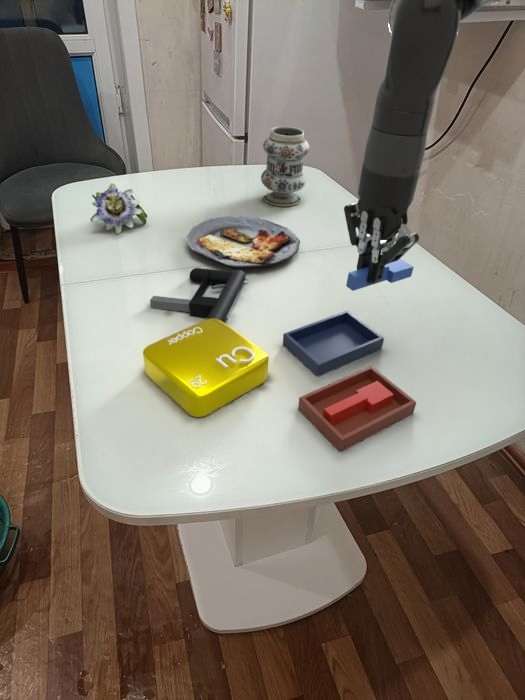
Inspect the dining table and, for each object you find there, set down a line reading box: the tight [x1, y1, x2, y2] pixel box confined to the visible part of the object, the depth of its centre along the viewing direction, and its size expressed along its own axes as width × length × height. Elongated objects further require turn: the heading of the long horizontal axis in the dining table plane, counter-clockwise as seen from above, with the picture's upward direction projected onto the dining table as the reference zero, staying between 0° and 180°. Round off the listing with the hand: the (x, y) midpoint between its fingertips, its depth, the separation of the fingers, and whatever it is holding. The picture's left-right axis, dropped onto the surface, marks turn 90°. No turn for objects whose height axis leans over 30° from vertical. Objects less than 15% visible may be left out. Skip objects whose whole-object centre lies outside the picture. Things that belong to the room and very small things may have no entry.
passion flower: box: [89, 182, 148, 235], centre depth 120 cm, size 11×11×12 cm
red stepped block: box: [323, 381, 394, 426], centre depth 75 cm, size 11×4×2 cm, turn 123°
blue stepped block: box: [345, 258, 414, 292], centre depth 79 cm, size 11×4×2 cm, turn 123°
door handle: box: [149, 267, 248, 323], centre depth 97 cm, size 3×20×16 cm
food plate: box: [185, 215, 301, 269], centre depth 115 cm, size 25×23×4 cm
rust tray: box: [297, 365, 417, 453], centre depth 75 cm, size 14×10×2 cm
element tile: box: [142, 318, 269, 418], centre depth 80 cm, size 15×15×5 cm
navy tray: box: [282, 310, 385, 377], centre depth 87 cm, size 14×10×2 cm
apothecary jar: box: [260, 125, 310, 208], centre depth 133 cm, size 12×12×18 cm
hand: (367, 278), depth 78 cm, fingers closed on blue stepped block, 1 cm apart
